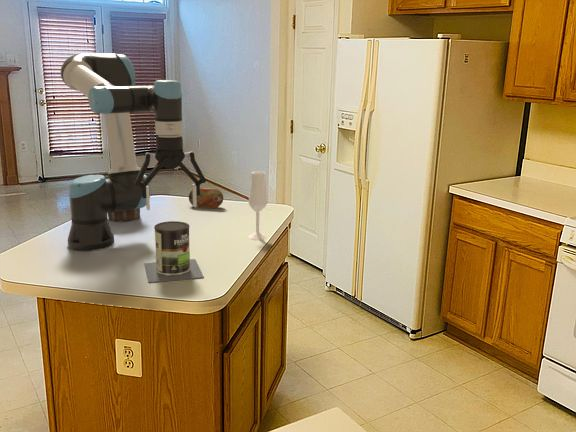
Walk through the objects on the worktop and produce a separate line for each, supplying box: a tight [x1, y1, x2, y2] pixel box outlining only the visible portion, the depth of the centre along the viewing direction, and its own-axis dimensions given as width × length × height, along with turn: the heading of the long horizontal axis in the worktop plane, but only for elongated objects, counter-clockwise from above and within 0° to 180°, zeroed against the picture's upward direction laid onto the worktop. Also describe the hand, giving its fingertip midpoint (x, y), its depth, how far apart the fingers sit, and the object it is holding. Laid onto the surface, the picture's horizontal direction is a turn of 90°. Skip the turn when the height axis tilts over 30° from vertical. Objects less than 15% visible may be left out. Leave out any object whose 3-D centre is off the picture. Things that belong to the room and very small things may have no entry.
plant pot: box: [104, 175, 141, 223], centre depth 227 cm, size 16×16×16 cm
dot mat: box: [144, 258, 205, 284], centre depth 175 cm, size 16×16×1 cm
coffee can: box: [154, 220, 191, 276], centre depth 173 cm, size 10×10×14 cm
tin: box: [188, 187, 224, 209], centre depth 248 cm, size 15×3×8 cm, turn 80°
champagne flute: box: [248, 170, 268, 241], centre depth 206 cm, size 7×7×24 cm
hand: (171, 207), depth 169 cm, fingers open, 13 cm apart
